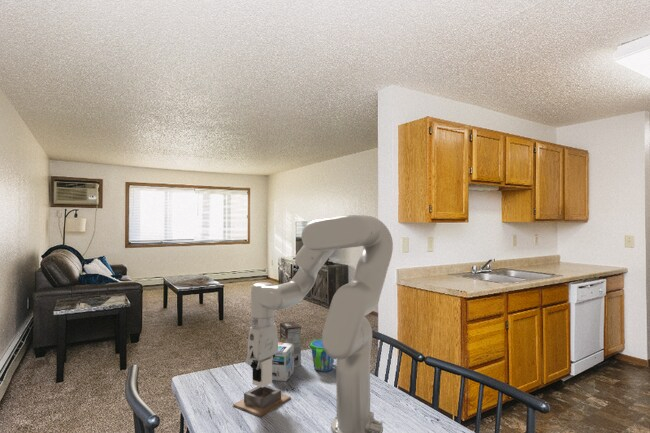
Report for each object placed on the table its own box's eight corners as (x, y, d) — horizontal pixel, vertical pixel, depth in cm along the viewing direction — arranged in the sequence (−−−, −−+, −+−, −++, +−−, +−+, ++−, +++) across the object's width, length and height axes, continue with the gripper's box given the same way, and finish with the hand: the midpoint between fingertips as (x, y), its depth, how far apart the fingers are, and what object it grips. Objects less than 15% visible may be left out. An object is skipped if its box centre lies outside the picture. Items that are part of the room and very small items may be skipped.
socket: (290, 398, 120) (290, 388, 120) (261, 417, 108) (261, 405, 108) (264, 389, 126) (264, 379, 127) (233, 406, 115) (233, 395, 115)
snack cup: (328, 378, 136) (328, 350, 136) (303, 374, 140) (303, 347, 140) (342, 363, 150) (342, 338, 151) (318, 360, 154) (318, 336, 154)
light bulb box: (286, 381, 133) (286, 352, 133) (268, 380, 134) (268, 350, 135) (294, 370, 143) (294, 342, 144) (278, 369, 145) (278, 341, 145)
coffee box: (279, 360, 154) (279, 322, 154) (293, 358, 156) (293, 320, 157) (286, 368, 145) (286, 328, 146) (301, 365, 148) (301, 326, 148)
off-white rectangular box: (271, 382, 118) (272, 357, 118) (262, 387, 114) (262, 362, 115) (262, 379, 121) (262, 355, 121) (252, 384, 117) (252, 359, 117)
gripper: (252, 329, 109) (251, 390, 109) (288, 317, 123) (288, 371, 122) (234, 325, 113) (234, 384, 113) (271, 314, 127) (271, 367, 127)
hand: (262, 377), depth 118 cm, fingers closed on off-white rectangular box, 4 cm apart
